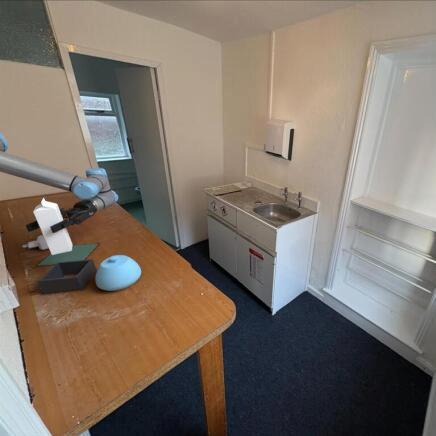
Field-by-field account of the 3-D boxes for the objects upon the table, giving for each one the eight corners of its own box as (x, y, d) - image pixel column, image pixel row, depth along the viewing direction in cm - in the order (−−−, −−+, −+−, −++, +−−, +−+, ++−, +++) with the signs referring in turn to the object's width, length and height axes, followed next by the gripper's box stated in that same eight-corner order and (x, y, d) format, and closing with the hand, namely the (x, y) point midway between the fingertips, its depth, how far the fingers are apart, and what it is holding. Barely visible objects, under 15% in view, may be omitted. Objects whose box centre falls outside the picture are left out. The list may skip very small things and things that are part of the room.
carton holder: (43, 294, 86) (37, 281, 84) (62, 274, 97) (57, 262, 94) (82, 289, 89) (77, 277, 87) (96, 270, 100) (92, 259, 97)
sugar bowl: (110, 299, 86) (101, 273, 81) (90, 284, 92) (81, 260, 88) (149, 277, 98) (144, 254, 93) (129, 265, 104) (123, 243, 100)
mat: (37, 266, 100) (36, 265, 100) (59, 247, 114) (59, 246, 114) (81, 262, 104) (81, 261, 104) (97, 244, 118) (97, 243, 118)
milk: (51, 255, 92) (28, 203, 83) (53, 248, 96) (31, 198, 87) (72, 250, 95) (52, 200, 86) (73, 244, 100) (54, 196, 90)
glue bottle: (25, 247, 113) (66, 237, 122) (24, 255, 107) (67, 244, 116) (20, 238, 111) (63, 229, 120) (19, 246, 105) (64, 236, 115)
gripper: (113, 215, 109) (72, 239, 88) (68, 213, 108) (15, 236, 88) (109, 200, 106) (65, 221, 85) (62, 198, 105) (6, 218, 85)
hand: (40, 229), depth 87 cm, fingers closed on milk, 8 cm apart
